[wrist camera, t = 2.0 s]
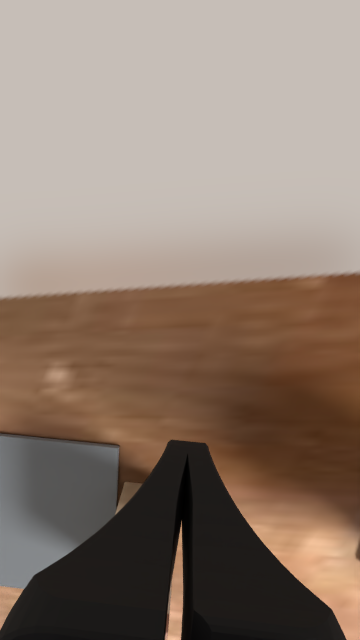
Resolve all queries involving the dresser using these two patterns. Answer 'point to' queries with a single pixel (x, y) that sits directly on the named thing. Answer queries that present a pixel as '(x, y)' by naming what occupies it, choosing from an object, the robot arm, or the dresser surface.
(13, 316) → the dresser surface
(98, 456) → the mat
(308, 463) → the dresser surface
